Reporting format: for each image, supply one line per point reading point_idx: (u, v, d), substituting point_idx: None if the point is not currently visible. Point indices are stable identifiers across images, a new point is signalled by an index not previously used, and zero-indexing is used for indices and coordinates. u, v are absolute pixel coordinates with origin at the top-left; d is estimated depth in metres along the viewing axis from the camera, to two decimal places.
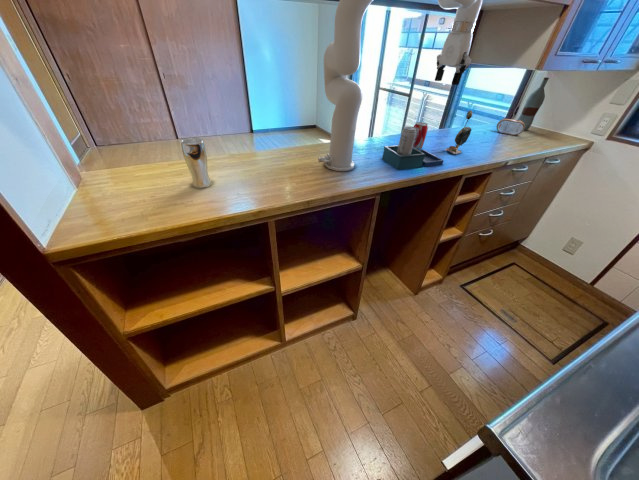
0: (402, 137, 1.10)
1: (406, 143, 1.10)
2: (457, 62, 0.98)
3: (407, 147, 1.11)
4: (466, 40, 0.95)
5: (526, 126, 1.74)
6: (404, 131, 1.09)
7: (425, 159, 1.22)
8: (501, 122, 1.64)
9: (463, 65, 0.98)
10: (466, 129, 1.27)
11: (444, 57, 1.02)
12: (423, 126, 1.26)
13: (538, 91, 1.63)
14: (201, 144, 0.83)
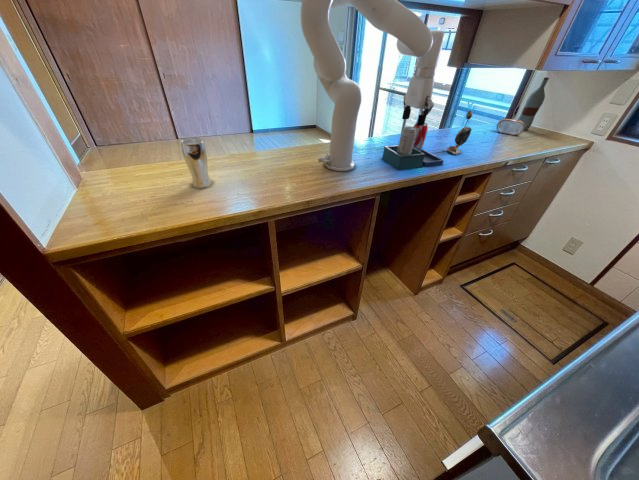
0: (402, 137, 1.10)
1: (406, 143, 1.10)
2: (420, 105, 0.99)
3: (407, 147, 1.11)
4: (428, 85, 0.96)
5: (526, 126, 1.74)
6: (404, 131, 1.09)
7: (425, 159, 1.22)
8: (501, 122, 1.64)
9: (426, 108, 0.99)
10: (466, 129, 1.27)
11: (409, 99, 1.03)
12: (423, 126, 1.26)
13: (538, 91, 1.63)
14: (201, 144, 0.83)
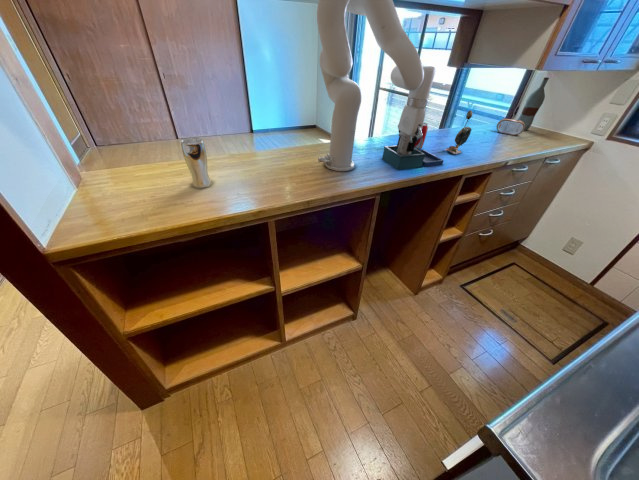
0: (402, 137, 1.10)
1: (406, 143, 1.10)
2: (412, 133, 1.05)
3: None
4: (420, 114, 1.02)
5: (526, 126, 1.74)
6: None
7: (425, 159, 1.22)
8: (501, 122, 1.64)
9: (415, 137, 1.06)
10: (466, 129, 1.27)
11: (402, 125, 1.09)
12: (423, 126, 1.26)
13: (538, 91, 1.63)
14: (201, 144, 0.83)
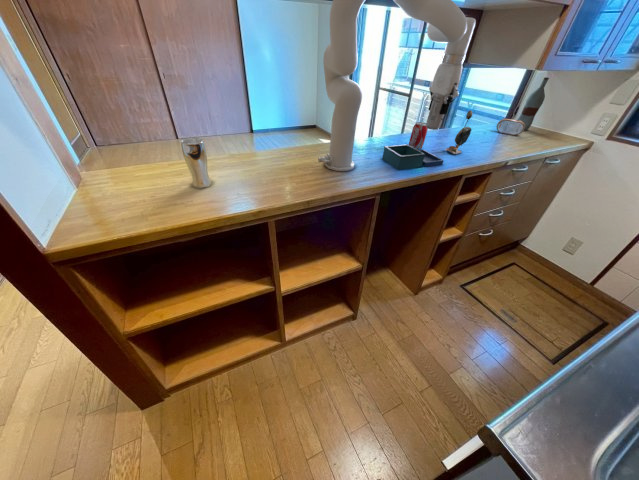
0: (435, 99, 1.06)
1: (440, 104, 1.06)
2: (448, 92, 1.01)
3: None
4: (456, 72, 0.97)
5: (526, 126, 1.74)
6: None
7: (425, 159, 1.22)
8: (501, 122, 1.64)
9: (450, 97, 1.02)
10: (466, 129, 1.27)
11: (435, 86, 1.05)
12: (423, 126, 1.26)
13: (538, 91, 1.63)
14: (201, 144, 0.83)
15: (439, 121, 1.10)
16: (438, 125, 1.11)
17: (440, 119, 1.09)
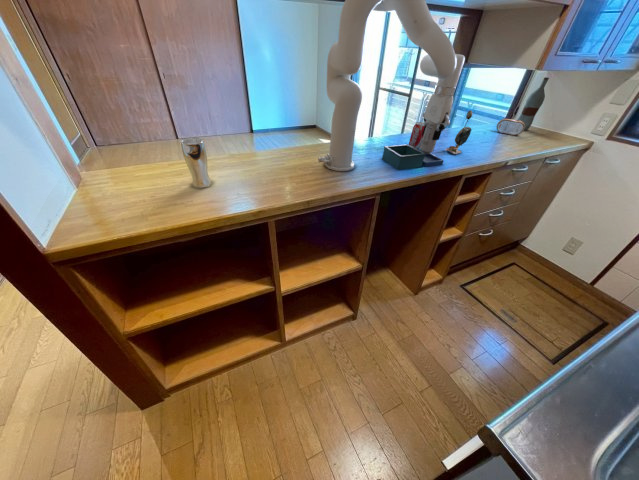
0: (428, 126, 1.12)
1: (433, 131, 1.12)
2: (440, 121, 1.07)
3: None
4: (448, 103, 1.04)
5: (526, 126, 1.74)
6: None
7: (425, 159, 1.22)
8: (501, 122, 1.64)
9: (442, 125, 1.08)
10: (466, 129, 1.27)
11: (428, 114, 1.11)
12: (423, 126, 1.26)
13: (538, 91, 1.63)
14: (201, 144, 0.83)
15: (432, 146, 1.16)
16: (431, 149, 1.17)
17: (433, 144, 1.16)
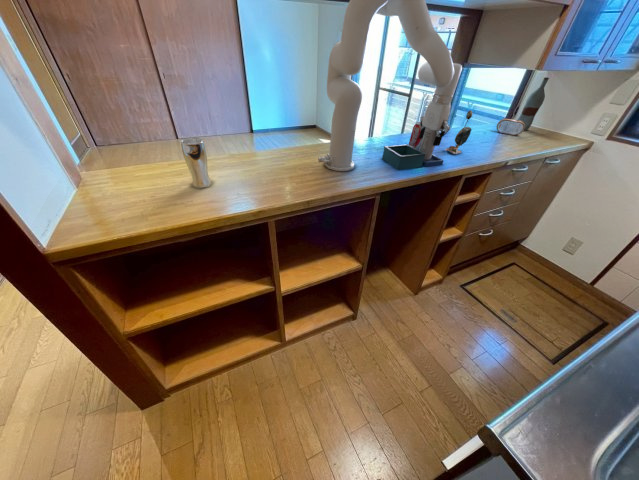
0: (426, 134, 1.14)
1: (430, 139, 1.14)
2: (437, 128, 1.09)
3: (431, 144, 1.15)
4: (445, 110, 1.06)
5: (526, 126, 1.74)
6: (428, 128, 1.13)
7: None
8: (501, 122, 1.64)
9: (442, 131, 1.09)
10: (466, 129, 1.27)
11: (426, 121, 1.13)
12: None
13: (538, 91, 1.63)
14: (201, 144, 0.83)
15: (430, 153, 1.18)
16: (429, 157, 1.19)
17: (430, 152, 1.18)
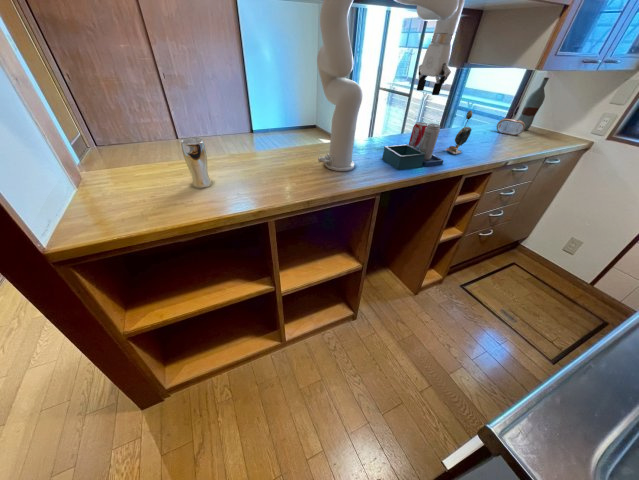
0: (426, 134, 1.14)
1: (430, 139, 1.14)
2: (436, 73, 0.99)
3: (431, 144, 1.15)
4: (445, 51, 0.96)
5: (526, 126, 1.74)
6: (428, 128, 1.13)
7: None
8: (501, 122, 1.64)
9: (442, 76, 0.98)
10: (466, 129, 1.27)
11: (425, 67, 1.03)
12: (423, 126, 1.26)
13: (538, 91, 1.63)
14: (201, 144, 0.83)
15: (430, 153, 1.18)
16: (429, 157, 1.19)
17: (430, 152, 1.18)
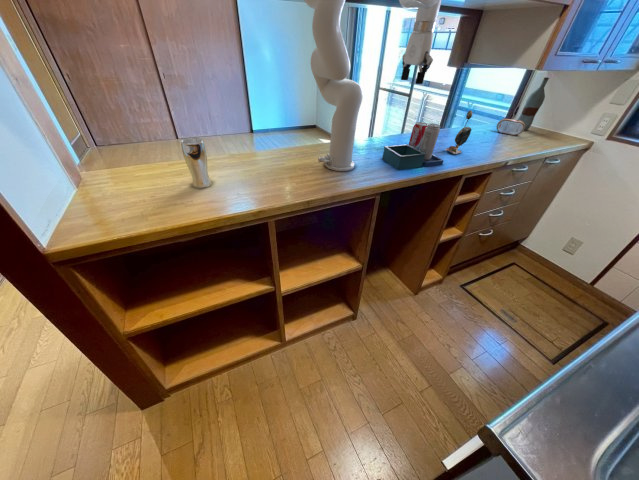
0: (426, 134, 1.14)
1: (430, 139, 1.14)
2: (419, 61, 0.99)
3: (431, 144, 1.15)
4: (427, 39, 0.96)
5: (526, 126, 1.74)
6: (428, 128, 1.13)
7: None
8: (501, 122, 1.64)
9: (425, 64, 0.99)
10: (466, 129, 1.27)
11: (408, 56, 1.03)
12: (423, 126, 1.26)
13: (538, 91, 1.63)
14: (201, 144, 0.83)
15: (430, 153, 1.18)
16: (429, 157, 1.19)
17: (430, 152, 1.18)
